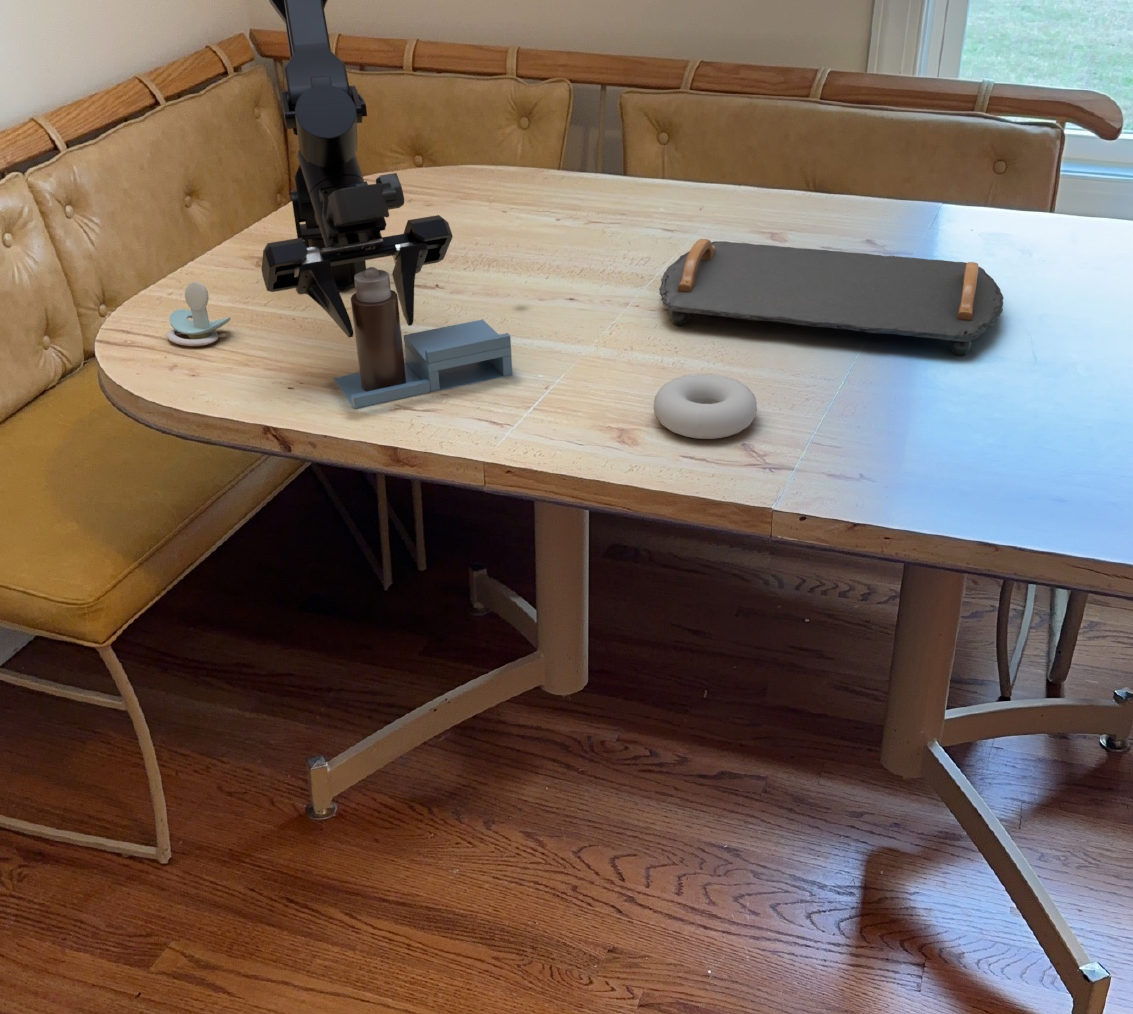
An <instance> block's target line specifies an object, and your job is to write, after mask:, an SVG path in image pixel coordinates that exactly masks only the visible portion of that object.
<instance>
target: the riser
mask: <svg viewBox="0 0 1133 1014" xmlns="http://www.w3.org/2000/svg"><path fill="white" fill-rule="evenodd" d="M511 338H512V337H511V335H510V334H509V332H506V333H500V334H499V333H498V332H497V331H496V330H494V329H493V328H492V327H491V325H490V324H489V323H487V322H486V321H485V320H484V319H477V320H473V321H469V322H467V321H466V322H461V323H458V324H457V323H456V324H453V325H452V324H451V325H447V326H443V327H438V328H432V329H428V330H422V331H417V332H412V333H406V334H403V343H404V346H403V347H404V354H405V356H404V357H405V362H404V364H405V374H406V383H405V384H401V385H396V386H391V387H387V388H382V389H377V390H372V391H368V392H366V391H365V390H363V388H362V386H361V378H360V371H359V372H356V373H351V374H346V375H341V376H336V377H333V380H334V381H335V383H336V385H337V386H338V387H339V389H340V390H341V391H342V393H343V394H344V397H346V399H347V400H348V402H349V403H350V405H351V406H352V408H353V409H354V410H357V409H362V408H367V407H371V406H377V405H381V404H386V403H390V402H395V401H398V400H399V401H400V400H403V399H408V398H413V397H419V396H422V395H426V394H432V393H435V392H441V391H446V390H451V389H454V388H455V389H456V388H458V387H463V386H467V385H472V384H477V383H478V384H479V383H481V382H487V381H490V380H491V381H492V380H495V379H500V378H506V377H510V376H513V358H512V340H511Z"/></svg>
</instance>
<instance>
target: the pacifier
mask: <svg viewBox="0 0 1133 1014" xmlns="http://www.w3.org/2000/svg"><path fill="white" fill-rule="evenodd" d="M184 298H185V299H184V300H185V303H186V304H187V307H188V308H189V309H186V308H180V309H179V308H178V309H176V310H174V311H172V312H171V313H170V315H169V323H170V326H171V327H172V329H171V330H169V331H168V332H167V334H166V338H167V340H168V341H170V342H171V343H173V344H176V345H179V346H180V345H181V346H186V347H201V346H207V345H211V344H213V343H215V342H216V341H217V340H219V335H218V333H217V330H218V329H220V328H221V327H223V326H226V324H228V323H229V322H230V321H231V320H232V319H231V316H228V317H224V318H221V319H217V320H213V321H210V319H209V313H208V309H207V306H208V304H209V299H210V296H209V292H208V289H207V287H206V286H205V284H203V283H201V282H199V281H191V282H189V283H188V284H187V286H185V291H184ZM190 319H192V320H190ZM181 334H183V335H186V336H187V337H188V338H183V337H180V336H179V335H181Z"/></svg>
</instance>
